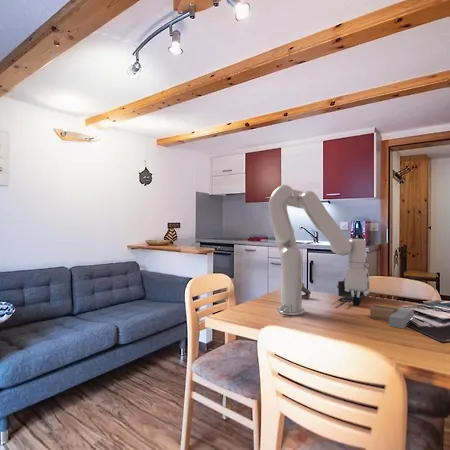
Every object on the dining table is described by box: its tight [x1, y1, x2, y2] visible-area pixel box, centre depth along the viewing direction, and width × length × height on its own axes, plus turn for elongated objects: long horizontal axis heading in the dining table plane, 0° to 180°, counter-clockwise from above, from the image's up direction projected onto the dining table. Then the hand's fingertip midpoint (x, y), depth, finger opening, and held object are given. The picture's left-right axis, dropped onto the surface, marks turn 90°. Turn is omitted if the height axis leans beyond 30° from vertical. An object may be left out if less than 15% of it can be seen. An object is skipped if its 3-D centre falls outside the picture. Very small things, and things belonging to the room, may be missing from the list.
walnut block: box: [369, 304, 399, 323], centre depth 139 cm, size 7×9×5 cm
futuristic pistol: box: [302, 282, 311, 299], centre depth 177 cm, size 2×15×10 cm, turn 82°
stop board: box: [388, 306, 415, 330], centre depth 134 cm, size 18×5×4 cm, turn 138°
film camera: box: [331, 257, 368, 307], centre depth 172 cm, size 40×12×24 cm, turn 141°
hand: (356, 305), depth 146 cm, fingers closed
